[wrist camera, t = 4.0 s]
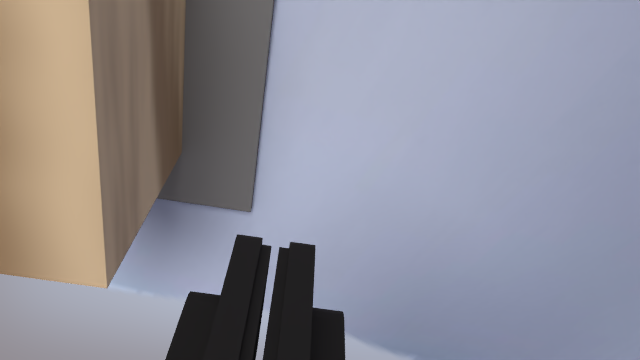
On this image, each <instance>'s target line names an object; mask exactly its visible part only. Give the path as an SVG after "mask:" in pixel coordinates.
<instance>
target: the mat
mask: <svg viewBox="0 0 640 360" xmlns="http://www.w3.org/2000/svg"><path fill="white" fill-rule="evenodd" d="M273 7H274V0H186V9H185V47H184V84H183V122H182V153H181V155H180V156H179V158H178V160H177V162H176V164H175V166H174V167H173V169H172V171H171V173H170V175H169V176H168V178H167V180H166V182H165V184H164V186H163V187H162V189H161V191H160V193H159V195H158V197H157V198H159V199H166V200H173V201H179V202H186V203H193V204H200V205H206V206H213V207H220V208H227V209H234V210H240V211H247V212H251V208H252V199H253V190H254V181H255V172H256V163H257V153H258V144H259V135H260V126H261V117H262V108H263V98H264V89H265V80H266V71H267V62H268V53H269V44H270V34H271V25H272V16H273Z"/></svg>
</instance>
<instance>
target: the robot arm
mask: <svg viewBox="0 0 640 360" xmlns="http://www.w3.org/2000/svg"><path fill="white" fill-rule="evenodd" d="M270 253H271V246H267V245H262V238H259V237H252V236H245V235H238V234H237V237H236V240H235V244H234V247H233V251H232V255H231V259H230V262H229V266H228V270H227V273H226V277H225V281H224V285H223V288H222V292H221V295H214V294H206V293H199V292H191V291H190V293H189V294H188V297H187V299H186V302H185V305H184V308H183V310H182V314H181V316H180V319H179V322H178V325H177V328H176V331H175V333H174V336H173V339H172V342H171V345H170V348H169V351H168V354H167V357H166V359H165V360H255V358H256V352H257V346H258V339H259V332H260V325H261V318H262V311H263V303H264V296H265V289H266V282H267V275H268V268H269V260H270ZM314 267H315V245H309V244H302V243H295V242H290V246H289V248H282V247H279V254H278V261H277V268H276V274H275V281H274V288H273V294H272V301H271V308H270V315H269V322H268V329H267V335H266V342H265V348H264V355H263V360H345V335H344V314H343V312H342V311H334V310H327V309H319V308H313V288H314Z"/></svg>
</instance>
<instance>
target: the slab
mask: <svg viewBox="0 0 640 360" xmlns="http://www.w3.org/2000/svg"><path fill="white" fill-rule="evenodd" d="M185 9H186V0H0V274H7V275H13V276H21V277H28V278H35V279H42V280H49V281H57V282H64V283H71V284H78V285H86V286H93V287H100V288H108V286H109V284H110V282H111V280H112V279H113V277H114V275H115V273H116V271H117V269H118V268H119V266H120V264H121V262H122V260H123V259H124V257H125V255H126V253H127V251H128V249H129V248H130V246H131V244H132V242H133V240H134V238H135V237H136V235H137V233H138V231H139V229H140V228H141V226H142V224H143V222H144V220H145V218H146V217H147V215H148V213H149V211H150V209H151V207H152V206H153V204H154V202H155V200H156V198H157V197H158V195H159V193H160V191H161V189H162V187H163V186H164V184H165V182H166V180H167V178H168V176H169V175H170V173H171V171H172V169H173V167H174V166H175V164H176V162H177V160H178V158H179V156H180V155H181V153H182V122H183V84H184V47H185Z"/></svg>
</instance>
